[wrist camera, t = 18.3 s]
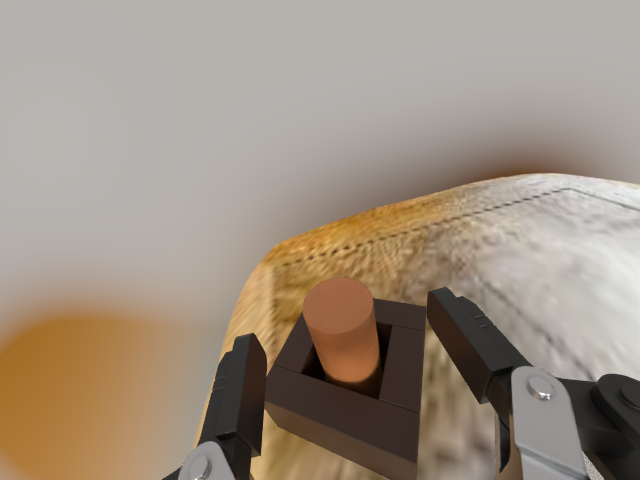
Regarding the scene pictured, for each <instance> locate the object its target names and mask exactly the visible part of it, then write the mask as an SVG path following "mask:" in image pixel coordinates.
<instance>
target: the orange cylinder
mask: <svg viewBox="0 0 640 480" xmlns="http://www.w3.org/2000/svg"><path fill="white" fill-rule="evenodd" d="M303 316H304V319H305V321H306V324H307V327H308V330H309V332H310V335H311V338H312V340H313V343H314V346H315V348H316V351H317V354H318V357H319V359H320V362H321V365H322V367H323V370H324V373H325V376H326V378H327V381H328V383H330V384H333V385H336V386H339V387H342V388H345V389H348V390H351V391H354V392H357V393H360V394H363V395H366V396H369V397H372V398H375V399H378V400H379V395H380V389H381V384H382V369H381V361H380V353H379V344H378V336H377V328H376V319H375V311H374V303H373V297H372V294H371V292H370V291H369V289H368V288H367V287H366V286H365V285H364V284H362V283H361V282H359V281H357V280H354V279H350V278H333V279H329V280H326V281H323V282H321V283H320V284H318V285H316V286H315V287H314V288H313V289H312V290H311V291H310V292H309V293H308V294H307V296H306V298H305V300H304V303H303Z"/></svg>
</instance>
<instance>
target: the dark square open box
mask: <svg viewBox="0 0 640 480" xmlns="http://www.w3.org/2000/svg"><path fill="white" fill-rule="evenodd" d="M373 303H374V311H375V319H376V328H377V336H378V344H379V353H380V356H381V357H385V358H386V362H385V368H384V373H383V378H382V384H381V389H380V395H379V400H378V399H375V398H372V397H369V396H366V395H363V394H360V393H357V392H354V391H351V390H348V389H345V388H342V387H339V386H336V385H333V384H330V383H327V382H324V379H325V377H326V376H325V373H324V370H323V367H322V365H321V362H320V359H319V357H318V354H317V351H316V348H315V346H314V343H313V340H312V338H311V335H310V332H309V330H308V327H307V324H306V321H305V319H304V316H303V311H302V313H301V315H300V317H299V318H298V320H297V322H296V324H295V326H294V328H293V329H292V331H291V333H290V335H289V337H288V339H287V340H286V342H285V344H284V346H283V348H282V350H281V351H280V353H279V355H278V357H277V359H276V361H275V362H274V365H273V366H272V368H271V370H270V371H269V373H268V375H267V377H266V388H265V402H264V408H265V410H266V411H267V412H268V414H269V415H270V416H271V418H272V419H273V420H274V422H275V423H276V424H277V426H278V427H280V428H282V429H284V430H287V431H289V432H291V433H293V434H295V435H297V436H299V437H301V438H304V439H306V440H308V441H310V442H312V443H314V444H316V445H318V446H321V447H323V448H325V449H327V450H329V451H331V452H333V453H336V454H338V455H340V456H342V457H344V458H346V459H348V460H350V461H353V462H355V463H357V464H359V465H361V466H363V467H365V468H367V469H370V470H372V471H374V472H376V473H378V474H380V475H382V476H384V477H387V478H389V479H391V480H416V474H417V457H418V441H419V424H420V408H421V391H422V375H423V358H424V342H425V324H426V307H425V306H418V305H412V304H406V303H399V302H393V301H387V300H380V299H374V298H373Z"/></svg>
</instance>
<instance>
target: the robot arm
mask: <svg viewBox="0 0 640 480" xmlns="http://www.w3.org/2000/svg"><path fill="white" fill-rule="evenodd" d="M427 318H428V321H429V323H430V326H431V327H432V329H433V331H434V332H435V334H436V335H437V337H438V338H439V340H440V342H441V343H442V345H443V346H444V348H445V350H446V351H447V353H448V354H449V356H450V358H451V359H452V361H453V362H454V364H455V366H456V367H457V369H458V370H459V372H460V374H461V375H462V377H463V378H464V380H465V381H466V383H467V385H468V386H469V388H470V389H471V391H472V393H473V394H474V396H475V397H476V399H477V401H478V402H479V404H484V403H488V402H490V403H491V405H492V406H493V408H494V409H495V480H590V478H589V476H588V474H587V471H586V467H585V462H584V458H583V453H582V451H583V452H584V453H585V455H586V456H587V457H588V459H589V460H590V461H591V462H592V464H593V465H594V466H595V468H596V469H597V470H598V471H599V473H600V474H601V475H602V477H603V478H604V479H605V480H640V381H637V380H635V379H633V378H630V377H627V376H624V375H619V374H606V375H603V376H602V377H601V378H600V379H599V380H598V381H597V382H589V381H579V380H569V379H562V378H557V377H554V376H552V375H551V374H549V373H548V372H546V371H544V370H542V369H539V368H536V367H534V366H533V365H531V364H530V363H529V362H528V361H527V360H526V359H525V358H524V357H523V356H522V355H521V354H520V353H519V351H518V350H517V349H516V348H515V347H514V346H513V345H512V344H511V343H510V342H509V340H508V339H507V338H506V337H505V336H504V335H503V334H502V333H501V332H500V331H499V329H498V328H497V327H496V326H494V325H493V323H492V322H491V321H490V320H489V318H488V317H486V316H485V314H484V313H483V312H482V311H481V310H480V309H479V307H478V306H477V305H476V304H475V303H473V302H471V301H470V300H468V299H466V298H465V297H463V296H461V297H457V298H456V297H455V295H454V294H453V293H452V292H451V291H450V290H449V289H448V288H447V287H444V288H440V289H436V290H432V291H429V292H428V298H427ZM266 374H267V358H266V354H265V351H264V349H263V347H262V346H261V344H260V342H259V341H258V339H257V337H256V335H255V334H254V333H251V334H247V335H242V336H238V337H236V338H235V341H234V345H233V350H232V351H230V352H226V353H225V355H224V357H223V358H222V360H221V362H220V363H219V365H218V369H217V373H216V377H215V381H214V385H213V389H212V390H213V392H212V393H211V397H210V401H209V405H208V409H207V413H206V417H205V421H204V425H203V429H202V433H201V436H200V440H199V442H198V445H197V447H196V448H195V449H194V450H193V451H192V452H191V453H190V454H189V456H188V457H187V459H186V460H185V462H184V463H183V465H182V466H181V467H180V468H179V469H177V470H176V471H175V472H173V473H171V474H170V475H168V476H167V477H166V478H164V479H162V480H254V478H253V476H252V474H251V473H250V466H251V458H252V457H257V456H261V446H262V431H263V417H264V402H265V388H266Z"/></svg>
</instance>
